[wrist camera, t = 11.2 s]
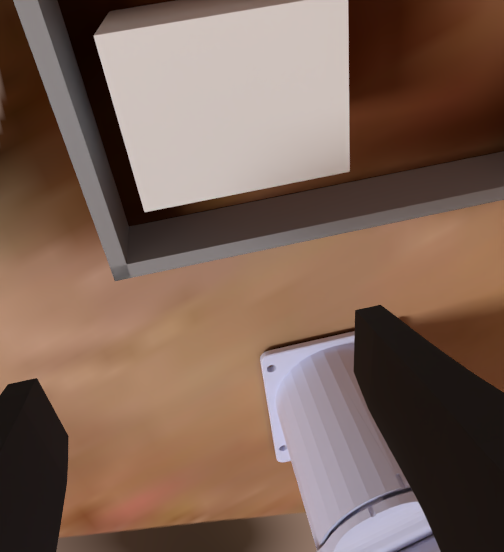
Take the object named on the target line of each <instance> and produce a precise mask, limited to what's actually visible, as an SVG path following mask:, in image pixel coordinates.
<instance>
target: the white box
mask: <svg viewBox="0 0 504 552" xmlns="http://www.w3.org/2000/svg"><path fill="white" fill-rule="evenodd" d="M94 39H95V43H96V46H97V50H98V53H99V57H100V60H101V64H102V67H103V71H104V74H105V78H106V81H107V85H108V88H109V91H110V95H111V98H112V102H113V105H114V109H115V112H116V116H117V119H118V123H119V126H120V130H121V133H122V136H123V140H124V143H125V147H126V150H127V154H128V157H129V161H130V164H131V168H132V171H133V175H134V178H135V182H136V185H137V188H138V192H139V195H140V199H141V202H142V206H143V209H144V212H149V211H154V210H159V209H164V208H169V207H174V206H179V205H184V204H189V203H194V202H199V201H204V200H210V199H215V198H220V197H225V196H230V195H235V194H240V193H245V192H250V191H255V190H260V189H265V188H270V187H275V186H280V185H285V184H290V183H295V182H300V181H305V180H310V179H315V178H320V177H325V176H330V175H335V174H340V173H345V172H350V141H349V26H348V0H175V1H169V2H163V3H157V4H151V5H144V6H138V7H132V8H126V9H120V10H114V11H109V13H108V14H107V16H106V17H105V19H104V20H103V22H102V23H101V25H100V26H99V28H98V30H97V31H96V33H95V34H94Z"/></svg>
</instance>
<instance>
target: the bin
mask: <svg viewBox="0 0 504 552" xmlns="http://www.w3.org/2000/svg"><path fill="white" fill-rule="evenodd" d="M13 1H14V4H15V6H16V9H17V12H18V15H19V17H20V20H21V23H22V26H23V28H24V31H25V34H26V37H27V40H28V42H29V45H30V48H31V51H32V53H33V56H34V59H35V62H36V64H37V67H38V70H39V73H40V75H41V78H42V81H43V84H44V86H45V89H46V92H47V95H48V97H49V100H50V103H51V106H52V109H53V111H54V114H55V117H56V120H57V122H58V125H59V128H60V131H61V133H62V136H63V139H64V142H65V144H66V147H67V150H68V153H69V155H70V158H71V161H72V164H73V166H74V169H75V172H76V175H77V177H78V180H79V183H80V186H81V189H82V191H83V194H84V197H85V200H86V202H87V205H88V208H89V211H90V213H91V216H92V219H93V222H94V224H95V227H96V230H97V233H98V235H99V238H100V241H101V244H102V246H103V249H104V252H105V255H106V257H107V260H108V263H109V266H110V269H111V271H112V274H113V277H114V280H115V281H118V280H123V279H127V278H132V277H137V276H142V275H146V274H151V273H156V272H161V271H166V270H170V269H175V268H180V267H185V266H189V265H194V264H199V263H204V262H209V261H213V260H218V259H223V258H228V257H232V256H237V255H242V254H247V253H252V252H256V251H261V250H266V249H271V248H275V247H280V246H285V245H290V244H294V243H299V242H304V241H309V240H314V239H318V238H323V237H328V236H333V235H337V234H342V233H347V232H352V231H357V230H361V229H366V228H371V227H376V226H380V225H385V224H390V223H395V222H399V221H404V220H409V219H414V218H419V217H423V216H428V215H433V214H438V213H442V212H447V211H452V210H457V209H462V208H466V207H471V206H476V205H481V204H485V203H490V202H495V201H500V200H504V151H503V152H498V153H493V154H488V155H483V156H478V157H473V158H468V159H463V160H458V161H453V162H448V163H443V164H438V165H433V166H428V167H423V168H418V169H413V170H408V171H403V172H398V173H393V174H388V175H383V176H378V177H373V178H368V179H363V180H359V181H354V182H349V183H344V184H339V185H334V186H329V187H324V188H319V189H314V190H309V191H304V192H299V193H294V194H289V195H284V196H279V197H274V198H269V199H264V200H259V201H254V202H249V203H244V204H239V205H234V206H229V207H224V208H219V209H214V210H209V211H204V212H199V213H194V214H189V215H184V216H179V217H174V218H169V219H164V220H159V221H154V222H149V223H144V224H139V225H134V226H129V225H128V222H127V219H126V216H125V213H124V209H123V206H122V203H121V200H120V197H119V194H118V190H117V187H116V184H115V181H114V178H113V175H112V171H111V168H110V165H109V162H108V159H107V156H106V152H105V149H104V146H103V143H102V140H101V137H100V133H99V130H98V127H97V124H96V121H95V118H94V114H93V111H92V108H91V105H90V102H89V99H88V95H87V92H86V89H85V86H84V83H83V80H82V76H81V73H80V70H79V67H78V64H77V61H76V57H75V54H74V51H73V48H72V45H71V42H70V38H69V35H68V32H67V29H66V26H65V23H64V19H63V16H62V13H61V10H60V7H59V4H58V1H57V0H13Z"/></svg>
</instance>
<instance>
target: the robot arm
mask: <svg viewBox="0 0 504 552" xmlns="http://www.w3.org/2000/svg"><path fill="white" fill-rule="evenodd" d="M260 363H261V369H262V375H263V381H264V387H265V393H266V399H267V405H268V411H269V417H270V423H271V429H272V435H273V442H274V448H275V454H276V458H277V460H278V461H279V462H287V461H291V462H292V466H293V469H294V472H295V476H296V479H297V483H298V486H299V490H300V493H301V497H302V500H303V503H304V507H305V510H306V514H307V517H308V521H309V524H310V528H311V531H312V535H313V538H314V541H315V545H316V548H317V551H316V552H504V393H503V392H502V391H500V390H499V389H497V388H495V387H494V386H492V385H491V384H489V383H488V382H486V381H484V380H483V379H481V378H480V377H478V376H477V375H475V374H474V373H472V372H471V371H469V370H468V369H466V368H465V367H463V366H462V365H461V364H459V363H458V362H456V361H455V360H454V359H452V358H451V357H449V356H448V355H446V354H445V353H444V352H442V351H441V350H439V349H438V348H437V347H435V346H434V345H433V344H431V343H430V342H429V341H427V340H426V339H425V338H423V337H422V336H421V335H419V334H418V333H417V332H415V331H414V330H413V329H411V328H410V327H409V326H408V325H406V324H405V323H404V322H402V321H401V320H400V319H398V318H397V317H396V316H395V315H393V314H392V313H391V312H389V311H388V310H387V309H385V308H384V307H383V306H381V305H378V306H373V307H369V308H364V309H359V310H355V331H353V332H348V333H344V334H339V335H335V336H331V337H326V338H322V339H317V340H313V341H309V342H304V343H300V344H295V345H291V346H287V347H282V348H278V349H273V350H269V351H266V352H264V353H263V354H262V355H261V357H260ZM270 365H273V366H272V367H268V366H270ZM67 470H68V435H67V433H66V431H65V429H64V427H63V425H62V424H61V422H60V420H59V418H58V416H57V414H56V413H55V411H54V409H53V407H52V405H51V403H50V401H49V400H48V398H47V396H46V394H45V392H44V390H43V389H42V387H41V385H40V383H39V381H38V379H37V378H36V379H31V380H26V381H22V382H17V383H12V384H8V385H7V387H6V388H5V389H4V391H3V392H2V394H1V395H0V552H56V549H57V543H58V537H59V531H60V524H61V518H62V512H63V505H64V499H65V492H66V485H67Z"/></svg>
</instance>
